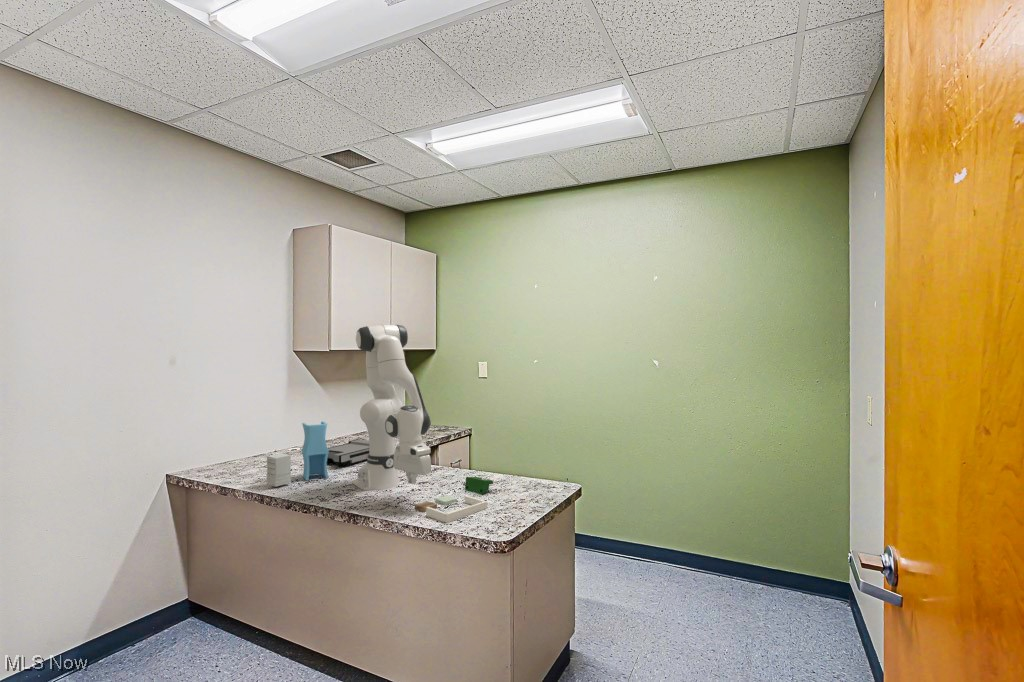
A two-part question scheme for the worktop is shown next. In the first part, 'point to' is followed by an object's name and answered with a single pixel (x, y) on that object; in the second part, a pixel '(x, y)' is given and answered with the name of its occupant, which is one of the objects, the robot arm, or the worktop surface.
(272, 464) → the supplement box
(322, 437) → the blue toy chair
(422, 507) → the walnut tile
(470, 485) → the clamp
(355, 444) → the game console
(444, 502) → the sage tile
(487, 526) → the worktop surface
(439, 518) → the white u-shaped frame
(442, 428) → the worktop surface
